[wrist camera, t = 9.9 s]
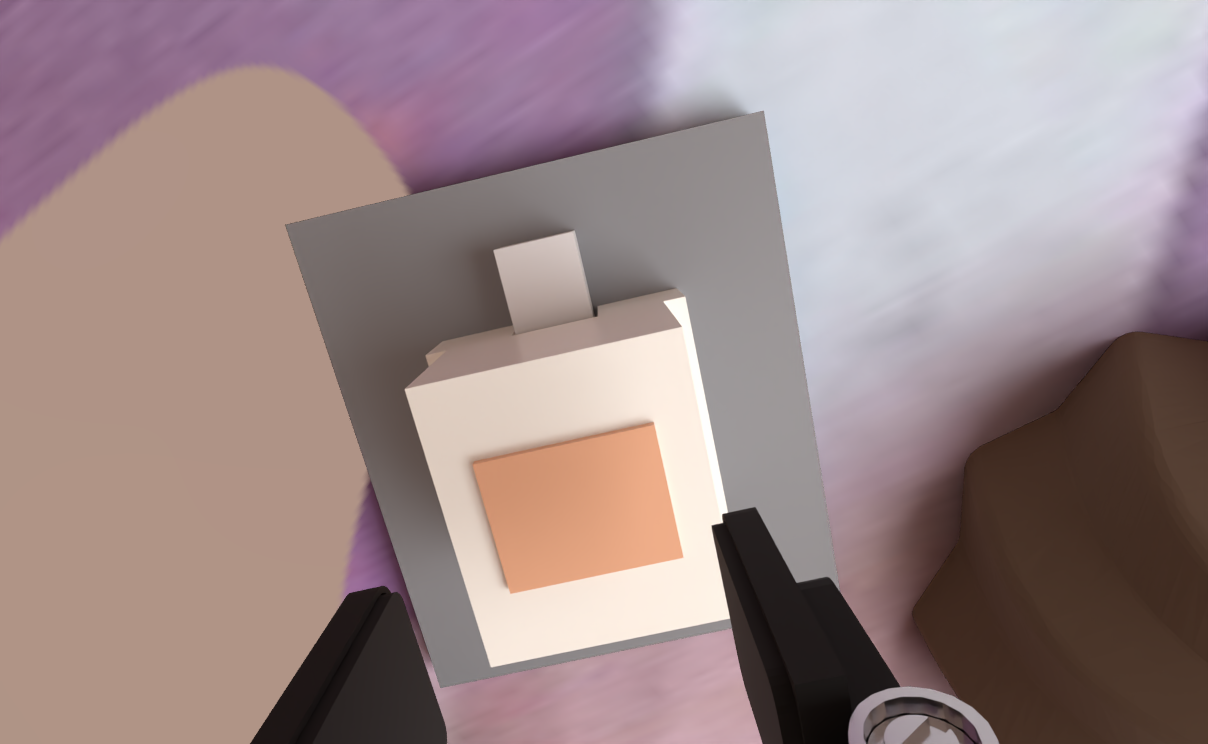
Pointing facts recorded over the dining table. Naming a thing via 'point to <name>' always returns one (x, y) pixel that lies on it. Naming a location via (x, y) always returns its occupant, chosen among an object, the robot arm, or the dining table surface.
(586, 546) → the block
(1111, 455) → the decorative dome
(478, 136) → the dining table surface
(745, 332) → the rail board
